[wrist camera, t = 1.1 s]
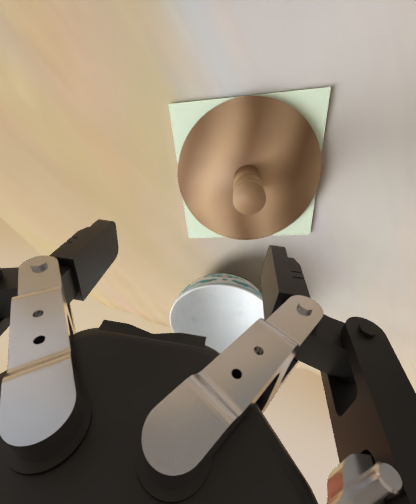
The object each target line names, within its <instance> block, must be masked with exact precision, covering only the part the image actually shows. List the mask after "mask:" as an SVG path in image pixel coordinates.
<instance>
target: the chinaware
mask: <svg viewBox="0 0 416 504" xmlns="http://www.w3.org/2000/svg"><path fill="white" fill-rule="evenodd" d="M260 318H263V319H264V311H263V300H262V293H261V292H260V291H259V290H258V289H257V288H256V287H255V286H254V285H253V284H252V283H250V282H249V281H247V280H245V279H243V278H241V277H239V276H236V275H232V274H225V273H217V274H210V275H207V276H204V277H201V278H199V279H197V280H195V281H194V282H192V283H191V284H190V285H188V286H187V287H186V288H185V289H184V290H183V291H182V292H181V294H180V295H179V296H178V298H177V299H176V301H175V302H174V304H173V306H172V309H171V312H170V325H171V328H172V330H173V332H174V333H186V334H192V335H198V336H204V337H206V342H205V345H207V346H209V347H211V348H213V349H214V350H216V351H217V352H219V353H220V354H221V353H222V352H223V351H224V350H225V349H226V348H227V347H228V346H229V345H231V344H232V343H233V342H234V341H235V340H236V339H237V338H238V337H239V336H240V335H242V334H243V333H244V332H245V331H246V330H247V329H248V328H249V327H250V326H251V325H253V324H254V323H255V322H256V321H257V320H258V319H260Z"/></svg>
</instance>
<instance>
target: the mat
mask: <svg viewBox="0 0 416 504" xmlns="http://www.w3.org/2000/svg"><path fill="white" fill-rule="evenodd" d="M330 90H331V87H324V88H314V89H305V90H296V91H286V92H277V93H267V94H258V95H248V96H265V97H270V98H273V99H277V100H280V101H282V102H284V103H286V104H288V105H290V106H291V107H293V108H294V109H296V110H297V111H298V112H299V113H300V114H301V115H302V116H303V117H304V118H305V119H306V120H307V121H308V123H309V124H310V125H311V127H312V129H313V131H314V132H315V134H316V137H317V139H318V142H319V145H320V150H321V153H322V146H323V139H324V132H325V125H326V118H327V111H328V104H329V97H330ZM239 97H243V96H239ZM233 98H237V97H229V98H220V99H211V100H201V101H192V102H182V103H173V104H168V105H169V112H170V118H171V125H172V131H173V138H174V144H175V151H176V158H177V164H178V162H179V156H180V152H181V149H182V146H183V143H184V141H185V139H186V137H187V135H188V134H189V132H190V130H191V129H192V127H193V126H194V125H195V124H196V123H197V121H198V120H199V119H200V118H201V117H202V116H203V115H205V114H206V113H207V112H208V111H210V110H211V109H212V108H214V107H215V106H217V105H219V104H221V103H223V102H225V101H228V100H230V99H233ZM315 195H316V193H315ZM315 195H314V197H313V199H312V201H311V203H310V204H309V206H308V207H307V209H306V210H305V211H304V212H303V214H302V215H301V216H300V217H299V218H298V219H297V220H296V221H295V222H293V223H292V224H291V225H289V226H288V227H286V228H285V229H283V230H281V231H280V232H277V233H275V234H273V235H270V236H274V235H306V234H310V231H311V224H312V217H313V209H314V202H315ZM183 204H184V210H185V217H186V223H187V230H188V236H189V238H210V237H224V236H222V235H219V234H216V233H215V232H213V231H211V230H209V229H208V228H206V227H205V226H203V225H202V224H201V223H200V222H199V221H198V220H197V219H196V218H195V217H194V216H193V215H192V214H191V212H190V211H189V209H188V208H187V206H186V204H185V202H184V200H183Z"/></svg>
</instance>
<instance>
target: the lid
mask: <svg viewBox="0 0 416 504" xmlns="http://www.w3.org/2000/svg"><path fill="white" fill-rule="evenodd" d="M321 169H322V157H321V150H320V145H319V142H318V139H317V137H316V134H315V132H314V131H313V129H312V127H311V125H310V124H309V123H308V121H307V120H306V119H305V118H304V117H303V116H302V115H301V114H300V113H299V112H298V111H297V110H296V109H294V108H293V107H291V106H290V105H288V104H286V103H284V102H282V101H280V100H277V99H273V98H270V97H265V96H243V97H237V98H233V99H230V100H228V101H225V102H223V103H221V104H219V105H217V106H215V107H214V108H212V109H211V110H210V111H208V112H207V113H206V114H205V115H203V116H202V117H201V118H200V119H199V120H198V121H197V123H196V124H195V125H194V126H193V127H192V129H191V130H190V132H189V134H188V135H187V137H186V139H185V141H184V143H183V146H182V149H181V152H180V156H179V162H178V183H179V188H180V192H181V195H182V197H183V200H184V202H185V204H186V206H187V208H188V209H189V211H190V212H191V214H192V215H193V216H194V217H195V218H196V219H197V220H198V221H199V222H200V223H201V224H202V225H203V226H205V227H206V228H208V229H209V230H211V231H213V232H215V233H216V234H219V235H222V236H224V237H228V238H232V239H239V240H251V239H259V238H264V237H267V236H270V235H273V234H275V233H277V232H280V231H281V230H283V229H285V228H286V227H288V226H289V225H291V224H292V223H293V222H295V221H296V220H297V219H298V218H299V217H300V216H301V215H302V214H303V212H304V211H305V210H306V209H307V207H308V206H309V204H310V203H311V201H312V199H313V197H314V195H315V193H316V191H317V188H318V185H319V182H320V177H321Z"/></svg>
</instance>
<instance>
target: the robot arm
mask: <svg viewBox="0 0 416 504" xmlns="http://www.w3.org/2000/svg"><path fill="white" fill-rule="evenodd" d="M117 254H118V240H117V231H116V225H115V222H113V221H107V220H100V219H99V220H97V221H96V222H95V223H94V224H93V225H91V226H90V227H86V228H84V229H82V230H80V231H78V232H77V233H75V234H74V235H73V236H72V238H70V239H68V240H67V242H65V243H64V244H63V245H61V246H60V247H59V248H58V249H57V250H56V251H54V252H53V253H52V254H51V255H50V256H38V257H34V258H31V259H28V260H26V261H25V262H23V263H22V264H21V265H20V266H19V268H0V336H1V334H2V333H3V332H4V331H5V330H6V329H7V328H8V327H9V326H10V331H9V348H8V365H7V370H6V371H5V372H3V373H1V374H0V504H318V503H317V500H316V498H315V496H314V494H313V492H312V490H311V488H310V486H309V485H308V483H307V481H306V480H305V478H304V477H303V475H302V473H301V472H300V470H299V469H298V467H297V466H296V464H295V463H294V461H293V460H292V458H291V456H290V455H289V453H288V452H287V450H286V449H285V447H284V446H283V444H282V443H281V441H280V439H279V438H278V436H277V435H276V433H275V432H274V430H273V429H272V427H271V426H270V424H269V423H268V421H267V419H266V418H265V416H264V415H263V412H264V411H265V409H266V408H267V407H268V405H269V403H270V402H271V401H272V399H273V397H274V395H275V394H276V392H277V391H278V390H279V388H280V387H281V385H282V384H283V383H284V381H285V380H286V379H287V377H288V376H289V375H290V373H291V372H292V371H293V369H294V368H295V367H296V365H297V364H298V363H299V361H301V362H303V363H305V364H307V365H310V366H312V367H314V368H316V369H318V370H320V371H321V376H322V381H323V386H324V390H325V395H326V400H327V405H328V409H329V414H330V419H331V423H332V428H333V433H334V438H335V442H336V447H337V452H338V457H339V461H340V464H339V465H338V466H337V467H336V468H335V469H334V470H333V471H332V472H331V473H330V475H329V478H328V482H327V490H328V499H327V504H416V393H415V391H414V389H413V387H412V385H411V383H410V381H409V380H408V378H407V376H406V374H405V372H404V370H403V368H402V366H401V364H400V362H399V360H398V358H397V356H396V354H395V352H394V350H393V348H392V346H391V344H390V342H389V340H388V338H387V336H386V335H385V333H384V332H383V330H382V329H381V328H380V327H378V326H377V325H376V324H374V323H373V322H371V321H369V320H367V319H364V318H361V317H351V318H349V319H348V320H347V321H346V323H343V322H340V321H338V320H335V319H333V318H330V317H328V316H326V315H324V314H323V310H322V308H321V306H320V305H319V304H318V303H317V302H316V301H314V300H313V299H311V298H310V295H309V292H308V289H307V285H306V282H305V280H304V276H303V274H302V270H301V267H300V265H299V264H298V263H297V261H296V260H295V259H294V258H288V257H287V253H286V249H285V247H279V246H272V245H270V246H269V247H268V250H267V254H266V258H265V261H264V265H263V268H262V273H261V289H262V300H263V311H264V319H263V318H260V319H258V320H257V321H256V322H255V323H254V324H253V325H251V326H250V327H249V328H248V329H247V330H246V331H245V332H244V333H243V334H242V335H240V336H239V337H238V338H237V339H236V340H235V341H234V342H233V343H232V344H231V345H229V346H228V347H227V348H226V349H225V350H224V351H223V352H222V353H221V354H220V353H219V352H217V351H216V350H214V349H213V348H211V347H209V346H207V345H205V342H206V337H204V336H198V335H192V334H186V333H166V334H151V333H149V332H146V331H144V330H142V329H139V328H137V327H135V326H132V325H130V324H126V323H120V322H113V321H108V320H104V321H103V322H102V324H101V326H100V327H99V328H93V329H88V330H84V331H80V332H78V333H76V331H75V325H74V320H73V315H72V309H71V305H70V302H71V301H72V300H73V299H75V300H82V301H84V299H85V298H86V297H87V296H88V294H89V293H90V292H91V290H92V289H93V288H94V286H95V285H96V284H97V282H98V281H99V280H100V278H101V277H102V276H103V274H104V273H105V272H106V270H107V269H108V268H109V267H110V265H111V264H112V263H113V261H114V260H115V259H116V257H117Z"/></svg>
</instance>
